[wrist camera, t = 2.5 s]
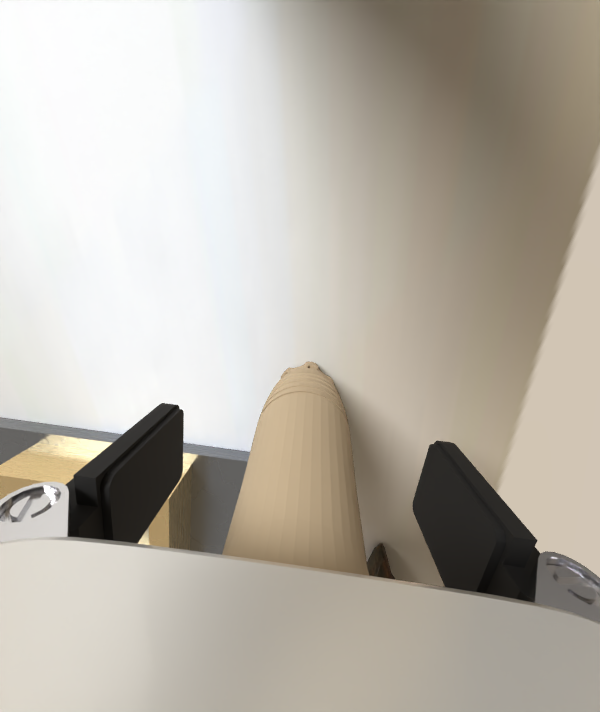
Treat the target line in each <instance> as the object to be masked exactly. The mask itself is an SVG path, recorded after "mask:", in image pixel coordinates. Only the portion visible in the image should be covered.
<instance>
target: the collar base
mask: <svg viewBox="0 0 600 712" xmlns="http://www.w3.org/2000/svg"><path fill="white" fill-rule="evenodd" d="M121 436H122V434H115V433H108V432H101V431H93V430H86V429H79V428H72V427H64V426H57V425H50V424H43V423H36V422H28V421H21V420H14V419H7V418H0V500H1V499H2V498H4V497H5V496H7V495H9V494H10V493H12V492H14V491H17V490H19V489H21V488H23V487H26V486H29V485H33V484H37V483H42V482H59V483H63V484H64V485H66V484H67V483H68V482H69V481H70V480H72V479H73V478H74V477H73V475H74V474H75V473H76V472H78V471H79V470H80V469H81V468H83V467H84V466H85V465H86V464H87V463H89V462H90V461H91V460H92V459H94V458H95V457H96V456H97V455H99V454H100V453H101V452H102V451H103V450H105V449H106V448H107V447H108V446H110V445H111V444H112V443H113V442H114V441H116V440H117V439H118V438H119V437H121ZM249 455H250V452H245V451H238V450H231V449H223V448H216V447H209V446H202V445H194V444H187V443H183V472H182V476H181V479H180V480H179V482H178V484H177V485H176V487H175V488H174V490H173V491H172V493H171V494H170V496H169V497H168V499H167V500H166V502H165V503H164V505H163V506H162V508H161V509H160V511H159V512H158V514H157V515H156V517H155V518H154V520H153V521H152V523H151V524H150V526H149V527H148V529H147V530H146V532H145V533H144V535H143V536H142V538H141V539H140V541H139V542H138V544H146V545H154V546H161V547H169V548H176V549H183V550H191V551H198V552H205V553H213V554H220V555H222V553H223V549H224V546H225V542H226V539H227V535H228V532H229V528H230V525H231V521H232V518H233V514H234V511H235V507H236V504H237V500H238V497H239V493H240V489H241V486H242V482H243V479H244V475H245V471H246V467H247V463H248V459H249Z"/></svg>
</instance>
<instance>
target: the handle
mask: <svg viewBox="0 0 600 712" xmlns="http://www.w3.org/2000/svg"><path fill="white" fill-rule="evenodd" d="M222 555H227V556H235V557H242V558H249V559H256V560H263V561H270V562H277V563H284V564H291V565H298V566H306V567H312V568H319V569H326V570H333V571H340V572H347V573H354V574H361V575H367V576H369V572H368V569H367V562H366V555H365V547H364V540H363V533H362V526H361V519H360V512H359V505H358V498H357V491H356V482H355V473H354V464H353V455H352V446H351V437H350V430H349V425H348V420H347V416H346V412H345V409H344V406H343V403H342V401H341V398H340V396H339V393H338V391H337V390H336V388H335V385H334V382H333V380H332V379H331V377H329V376H326V375H325V374H323V373H322V372H321V371H320V369H319V368H318V365H317V364H316V363H313V362H306V363H305V364H304V365H302V366H300V367H297V368H288V369H287V370H286V371H285V372H284V373H283V374H282V376H281V379H280V380H279V382H278V383H277V384H276V386H275V387H274V388H273V390H272V392H271V393H270V395H269V397H268V399H267V401H266V403H265V405H264V407H263V410H262V412H261V415H260V418H259V421H258V424H257V428H256V432H255V435H254V439H253V443H252V447H251V451H250V455H249V459H248V463H247V467H246V471H245V475H244V479H243V482H242V486H241V489H240V493H239V497H238V500H237V504H236V507H235V511H234V514H233V518H232V521H231V525H230V528H229V532H228V535H227V539H226V542H225V546H224V549H223V553H222Z"/></svg>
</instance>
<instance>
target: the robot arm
mask: <svg viewBox="0 0 600 712" xmlns="http://www.w3.org/2000/svg"><path fill="white" fill-rule="evenodd" d="M183 415H184V414H183V410H181V409H179V406H178V405H173V404H165V403H162V404H160V405H159V406H157V407H156V408H155V409H154V410H152V411H151V412H150V413H149V414H148V415H146V416H145V417H144V418H143V419H141V420H140V421H139V422H138V423H137V424H135V425H134V426H133V427H132V428H130V429H129V430H128V431H127V432H126V433H124V434H123V435H122V436H121V437H119V438H118V439H117V440H116V441H114V442H113V443H112V444H111V445H110V446H108V447H107V448H106V449H105V450H103V451H102V452H101V453H100V454H99V455H97V456H96V457H95V458H94V459H92V460H91V461H90V462H89V463H87V464H86V465H85V466H84V467H83V468H81V469H80V470H79V471H78V472H76V473H75V474H74V475H73V477H74V478H73V479H72V480H70V481H69V482H68V483H67V484H66V485H64V484H63V483H59V482H42V483H37V484H33V485H29V486H26V487H23V488H21V489H19V490H17V491H14V492H12V493H10V494H9V495H7V496H5V497H4V498H2V499H1V500H0V712H600V578H599V577H598V576H597V575H595V574H594V573H593V572H591V571H590V570H589V569H587V568H586V567H585V566H583V565H581V564H580V563H578V562H576V561H575V560H573V559H571V558H568V557H566V556H564V555H561V554H558V553H555V552H543V553H541V554H540V553H539V551H538V550H537V549H536V548H535V547H534V546H535V544H536V542H537V540H536V539H535V537H534V536H533V535H532V534H531V532H530V531H529V530H528V529H527V528H526V527H525V525H524V524H523V523H522V522H521V521H520V520H519V519H518V517H517V516H516V515H515V514H514V513H513V511H512V510H511V509H510V508H509V507H508V506H507V504H506V503H505V502H504V501H503V500H502V499H501V497H500V496H499V495H498V494H497V493H496V492H495V490H494V489H493V488H492V487H491V486H490V485H489V483H488V482H487V481H486V480H485V479H484V477H483V476H482V475H481V474H480V473H479V472H478V470H477V469H476V468H475V467H474V466H473V465H472V463H471V462H470V461H469V460H468V459H467V458H466V456H465V455H464V454H463V453H462V452H461V451H460V449H459V448H458V447H457V446H456V445H455V444H454V443H450V442H443V441H436V442H435V443H434V444H431V445H430V446H429V449H428V452H427V456H426V459H425V462H424V466H423V469H422V473H421V476H420V480H419V483H418V486H417V490H416V493H415V497H414V500H413V512H414V515H415V517H416V519H417V522H418V524H419V526H420V529H421V531H422V534H423V536H424V538H425V541H426V543H427V545H428V548H429V550H430V552H431V555H432V557H433V559H434V562H435V564H436V566H437V569H438V571H439V573H440V576H441V578H442V580H443V583H444V585H445V587H441V586H434V585H427V584H421V583H414V582H407V581H401V580H394V579H387V578H381V577H374V576H367V575H361V574H354V573H347V572H340V571H333V570H326V569H319V568H312V567H306V566H298V565H291V564H284V563H277V562H270V561H263V560H256V559H249V558H242V557H235V556H227V555H220V554H213V553H205V552H198V551H191V550H183V549H176V548H169V547H161V546H154V545H146V544H138V542H139V541H140V539H141V538H142V536H143V535H144V533H145V532H146V530H147V529H148V527H149V526H150V524H151V523H152V521H153V520H154V518H155V517H156V515H157V514H158V512H159V511H160V509H161V508H162V506H163V505H164V503H165V502H166V500H167V499H168V497H169V496H170V494H171V493H172V491H173V490H174V488H175V487H176V485H177V484H178V482H179V480H180V479H181V476H182V472H183Z"/></svg>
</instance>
